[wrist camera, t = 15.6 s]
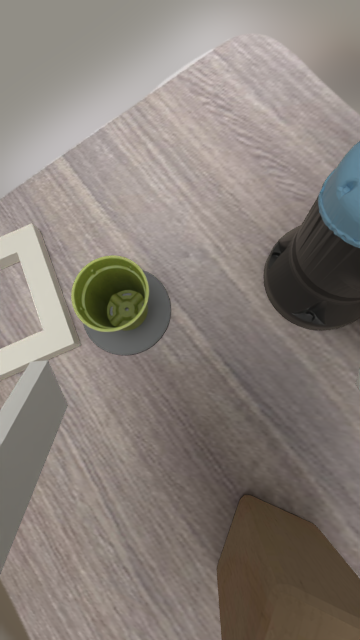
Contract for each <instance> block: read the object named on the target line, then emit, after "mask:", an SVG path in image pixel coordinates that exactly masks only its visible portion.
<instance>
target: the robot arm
mask: <svg viewBox="0 0 360 640" xmlns="http://www.w3.org/2000/svg"><path fill="white" fill-rule="evenodd" d="M264 285H265V289H266V293H267V295H268V297H269V300H270V301H271V303H272V304H273V306H274V307H275V309H276V310H277V311H278V312H279V313H280V314H281V315H282V316H283V317H285V318H286V319H287V320H289V321H291V322H292V323H294V324H296V325H298V326H301V327H304V328H307V329H312V330H331V329H336V328H340V327H342V326H345V325H347V324H349V323H351V322H353V321H355V320H357V319H359V318H360V141H359V142H358V143H357V144H356V145H354V146H353V147H352V148H351V149H350V151H349V152H348V153H347V154H346V155H345V157H344V158H343V159H342V161H341V162H340V164H339V165H338V167H337V168H336V169H335V170H334V171H333V172H332V173H331V174H330V175H329V176H328V177H327V179H326V180H325V182H324V184H323V186H322V189H321V191H320V194H319V196H318V198H317V200H316V201H315V203H314V205H313V206H312V208H311V210H310V211H309V213H308V215H307V217H306V218H305V220H304V222H303V223H302V225H300V226H298V227H296V228H295V229H293V230H291V231H289V232H288V233H286V234H285V235H284V236H283V237H282V238H281V239H280V240H279V241H278V242H277V243H276V244H275V246H274V247H273V249H272V251H271V253H270V255H269V257H268V259H267V261H266V265H265V269H264ZM356 386H357V387H358V389H359V390H360V369H359V373H358V377H357V381H356ZM67 406H68V404H67V402H66V399H65V397H64V395H63V393H62V391H61V388H60V386H59V384H58V382H57V379H56V377H55V375H54V373H53V371H52V368H51V366H50V364H49V362H48V360H46V361H34V362H30V363H29V365H28V367H27V368H26V370H25V371H24V373H23V375H22V376H21V378H20V380H19V381H18V383H17V384H16V386H15V388H14V389H13V391H12V392H11V394H10V396H9V397H8V399H7V400H6V402H5V404H4V405H3V407H2V408H1V410H0V573H1V571H2V568H3V566H4V563H5V561H6V558H7V556H8V553H9V551H10V548H11V546H12V543H13V541H14V538H15V536H16V533H17V531H18V528H19V526H20V523H21V521H22V518H23V516H24V513H25V511H26V508H27V506H28V503H29V501H30V498H31V496H32V493H33V491H34V488H35V486H36V483H37V481H38V478H39V476H40V473H41V471H42V468H43V466H44V463H45V461H46V458H47V456H48V453H49V451H50V448H51V446H52V443H53V441H54V438H55V436H56V433H57V431H58V428H59V426H60V424H61V421H62V419H63V416H64V414H65V411H66V409H67Z"/></svg>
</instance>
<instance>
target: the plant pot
mask: <svg viewBox="0 0 360 640" xmlns="http://www.w3.org/2000/svg"><path fill="white" fill-rule="evenodd" d="M125 293H131V295H125V296H122V295H123V294H125ZM71 298H72V305H73V308H74V311H75V313H76V315H77V316H78V318H79V319H80V320H81V321H82V322H83V323H84V324H85V325H86V326H88V327H89V328H91V329H94V330H96V331H100V332H115V331H119V330H124V331H128V330H132V329H135V328H137V327H139V326H140V325H141V324H142V323H143V321H144V320H145V319H146V316H147V313H148V305H147V303H148V299H149V285H148V281H147V278H146V276H145V274H144V272H143V271H142V269H141V268H140V267H139V266H138V265H137V264H136V263H134V262H133V261H131V260H129V259H127V258H125V257H121V256H105V257H101V258H98V259H95V260H93V261H91V262H90V263H89V264H87V265H86V266H85V267H84V268H83V269H82V270H81V271H80V272H79V274H78V275H77V277H76V279H75V281H74V283H73V287H72V293H71ZM142 304H143V307H142ZM111 307H113V310H112V313H113V315H112V316H111V315H110V308H111ZM125 308H128V309H129V310H128V311H125Z"/></svg>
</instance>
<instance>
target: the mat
mask: <svg viewBox="0 0 360 640" xmlns="http://www.w3.org/2000/svg"><path fill="white" fill-rule="evenodd" d="M142 271H143V270H142ZM143 272H144V274H145V276H146V278H147V281H148V285H149V299H148V303H147V305H148V313H147V316H146V319H145V320H144V321H143V323H142V324H141V325H140V326H139V327H137V328H135V329H132V330H128V331H124V330H119V331H115V332H100V331H96V330H94V329H91V328H89V327H88V326H86V325H85V324H84V323H83V324H84V328H85V330H86V332H87V334H88V336H89V337H90V339H91V340H92V341H93V342H94V343H95V344H96V345H97V346H98V347H100V348H101V349H103V350H105V351H107V352H109V353H112V354H117V355H133V354H138V353H140V352H143V351H145V350H147V349H149V348H150V347H152V346H153V345H154V344H155V343H157V342H158V341H159V339H160V338H161V337H162V336H163V334H164V333H165V331H166V329H167V327H168V324H169V321H170V315H171V305H170V300H169V297H168V294H167V292H166V290H165V288H164V286H163V285H162V283H161V282H160V281H159V280H158V279H157V278H156V277H154V276H153V275H151V274H150V273H148V272H146V271H143ZM125 295H131V293H125V294H123V295H122V296H125ZM142 307H143V304H142ZM112 310H113V307H111V308H110V315H111V316H112V315H113V313H112ZM128 310H129V309H128V308H125V311H128Z"/></svg>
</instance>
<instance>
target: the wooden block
mask: <svg viewBox="0 0 360 640" xmlns="http://www.w3.org/2000/svg"><path fill="white" fill-rule="evenodd" d="M217 580H218V594H219V608H220V622H221V636H222V640H360V579H359V577H358V576H357V575H356V574H355V573H354V571H353V570H352V569H351V568H350V566H349V565H348V564H347V563H346V562H345V560H344V559H343V558H342V557H341V555H340V554H339V553H338V552H337V551H336V549H335V548H334V547H333V546H332V544H331V543H330V542H329V541H328V540H327V538H326V537H325V536H324V535H323V533H322V532H321V531H320V530H319V529H318V528H317V527H316V526H315V525H314V524H313V523H310V522H308V521H306V520H304V519H301V518H299V517H297V516H295V515H293V514H290V513H288V512H286V511H284V510H282V509H279V508H277V507H275V506H273V505H271V504H268V503H266V502H264V501H262V500H260V499H257V498H255V497H253V496H251V495H244V496H243V497H242V498H241V499H240V501H239V504H238V507H237V510H236V513H235V516H234V518H233V521H232V524H231V527H230V530H229V533H228V536H227V539H226V542H225V545H224V548H223V551H222V554H221V557H220V560H219V563H218V566H217Z"/></svg>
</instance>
